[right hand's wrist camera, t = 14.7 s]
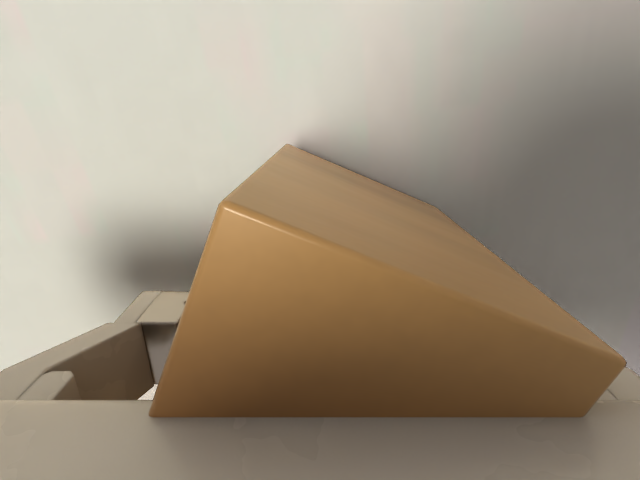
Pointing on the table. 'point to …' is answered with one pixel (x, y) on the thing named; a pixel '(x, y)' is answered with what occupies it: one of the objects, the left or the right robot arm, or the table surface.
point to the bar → (366, 312)
